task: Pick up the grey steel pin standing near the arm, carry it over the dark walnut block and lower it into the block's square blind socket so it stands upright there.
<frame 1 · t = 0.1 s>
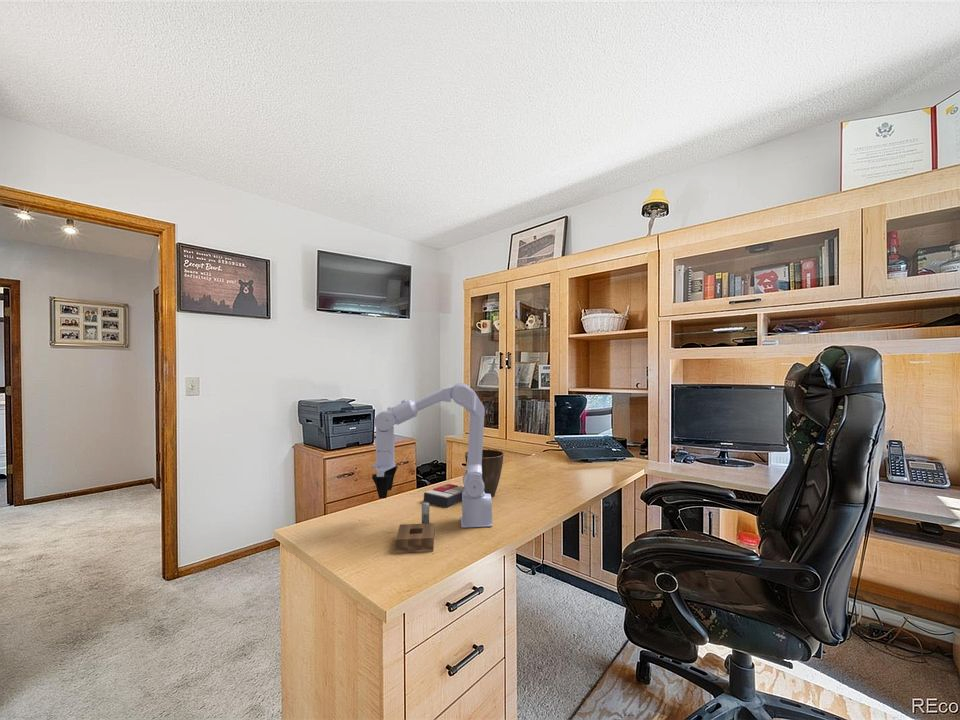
hand: (385, 493, 122), 10 cm above the table, fingers open, 7 cm apart
pin: (425, 525, 122), on the table
bore block: (415, 543, 110), on the table
plant pot: (484, 495, 150), on the table
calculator: (447, 500, 146), on the table
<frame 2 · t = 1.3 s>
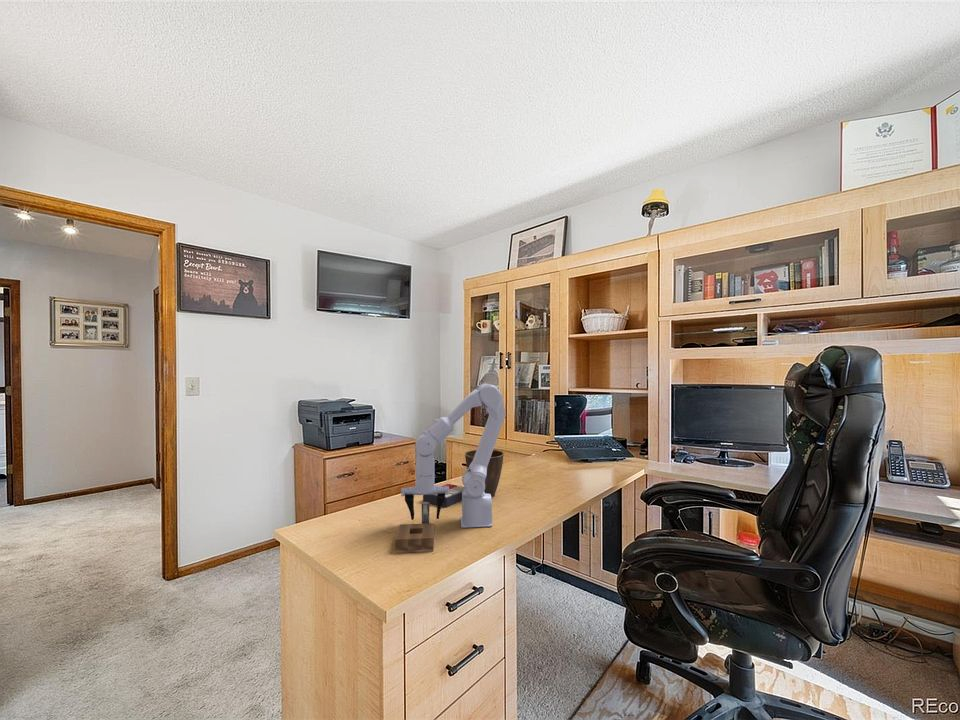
hand: (425, 518, 122), 2 cm above the table, fingers open, 7 cm apart
nothing on the table moved.
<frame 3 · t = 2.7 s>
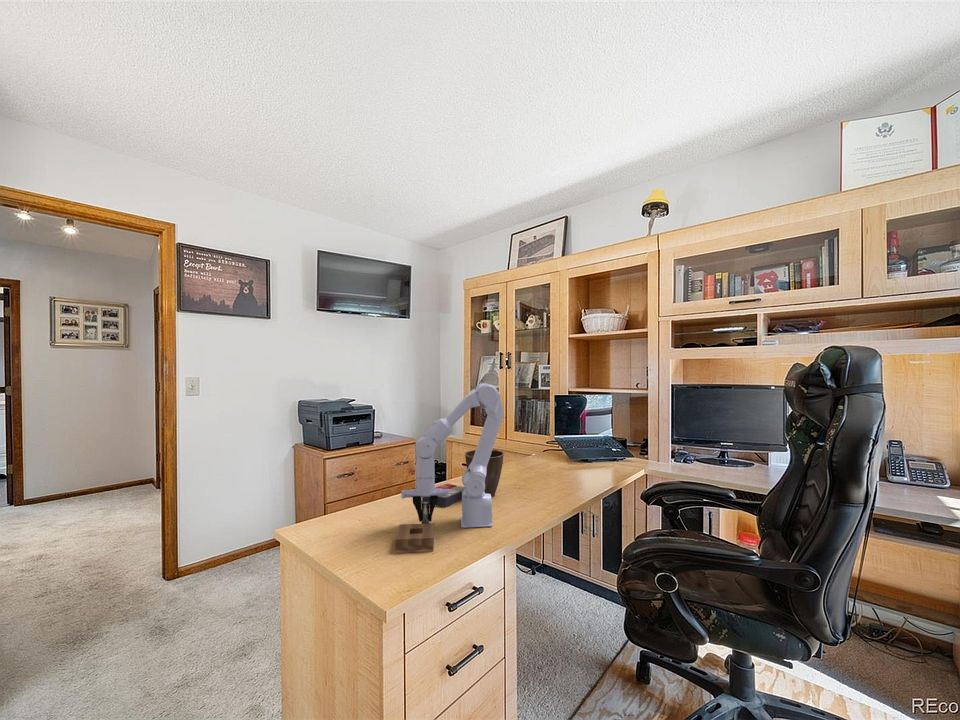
hand: (425, 520, 122), 2 cm above the table, fingers closed on pin, 2 cm apart
pin: (425, 525, 122), on the table, touching gripper
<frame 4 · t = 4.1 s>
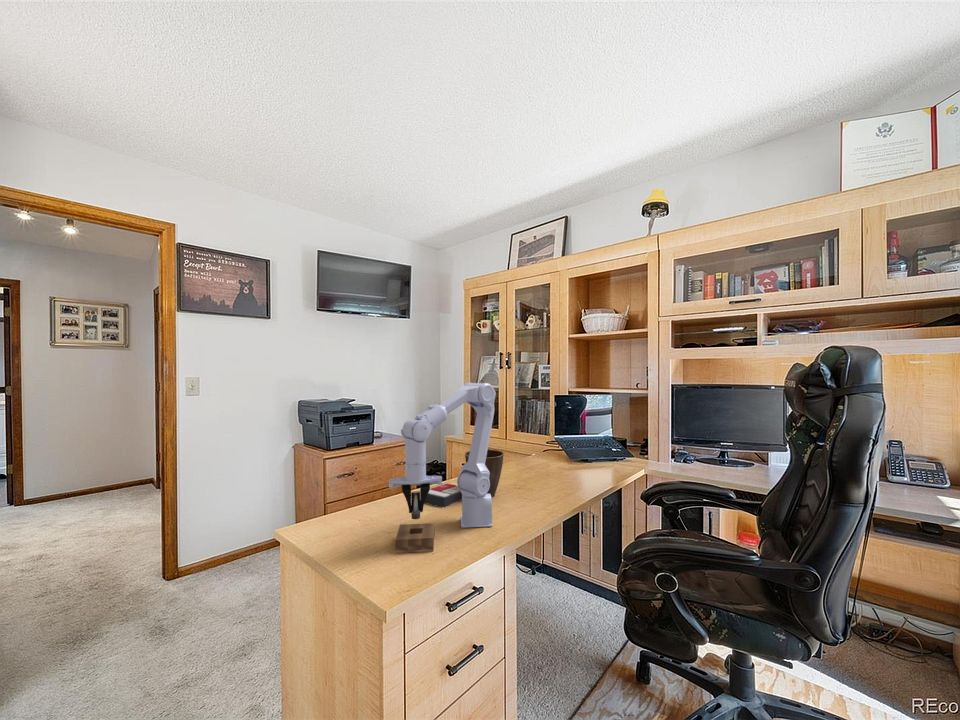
hand: (415, 511, 110), 9 cm above the table, fingers closed on pin, 2 cm apart
pin: (415, 517, 110), point 7 cm above the table, touching gripper
when the fingers open (4 cm above the table, at t = 5.9 s): pin drops 2 cm, resting on bore block.
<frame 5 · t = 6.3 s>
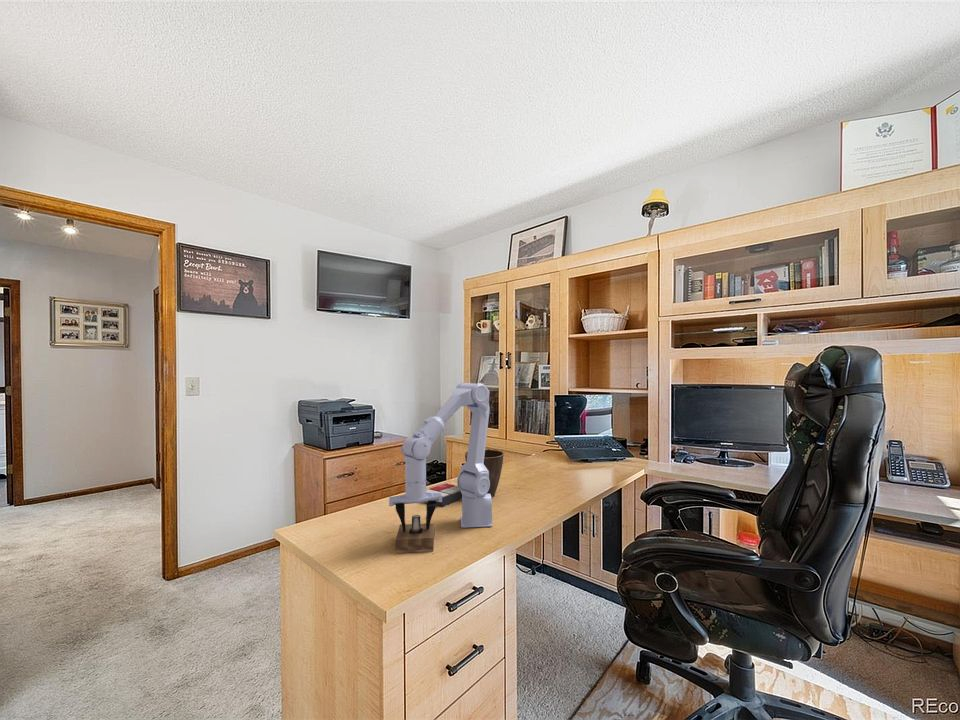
hand: (415, 529, 110), 4 cm above the table, fingers open, 6 cm apart
pin: (416, 541, 110), point 1 cm above the table, touching bore block
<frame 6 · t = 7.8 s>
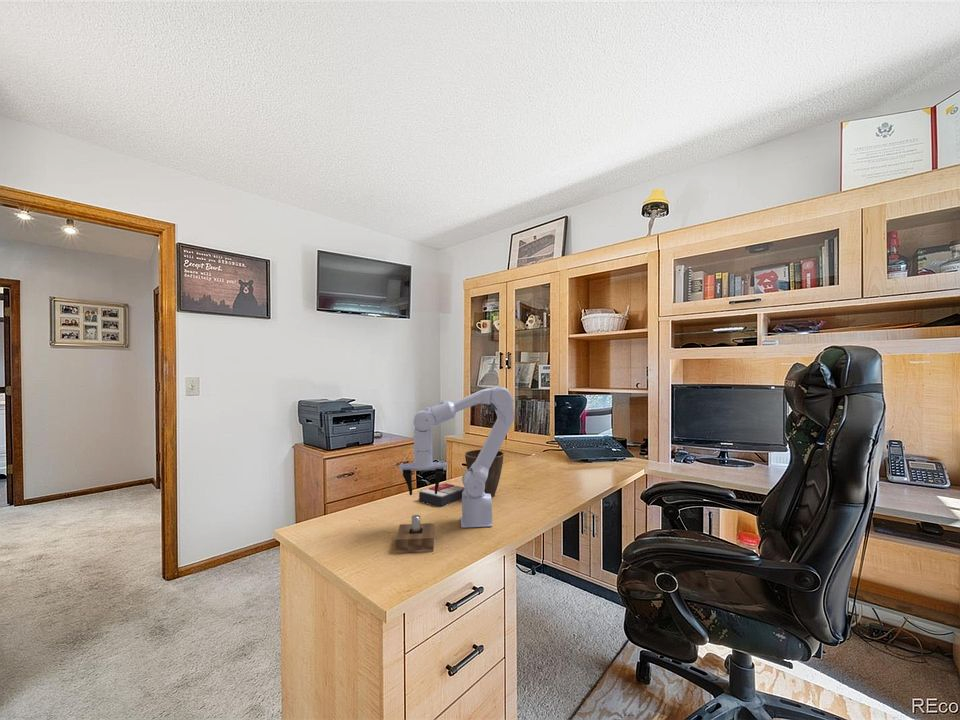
hand: (423, 493, 122), 10 cm above the table, fingers open, 7 cm apart
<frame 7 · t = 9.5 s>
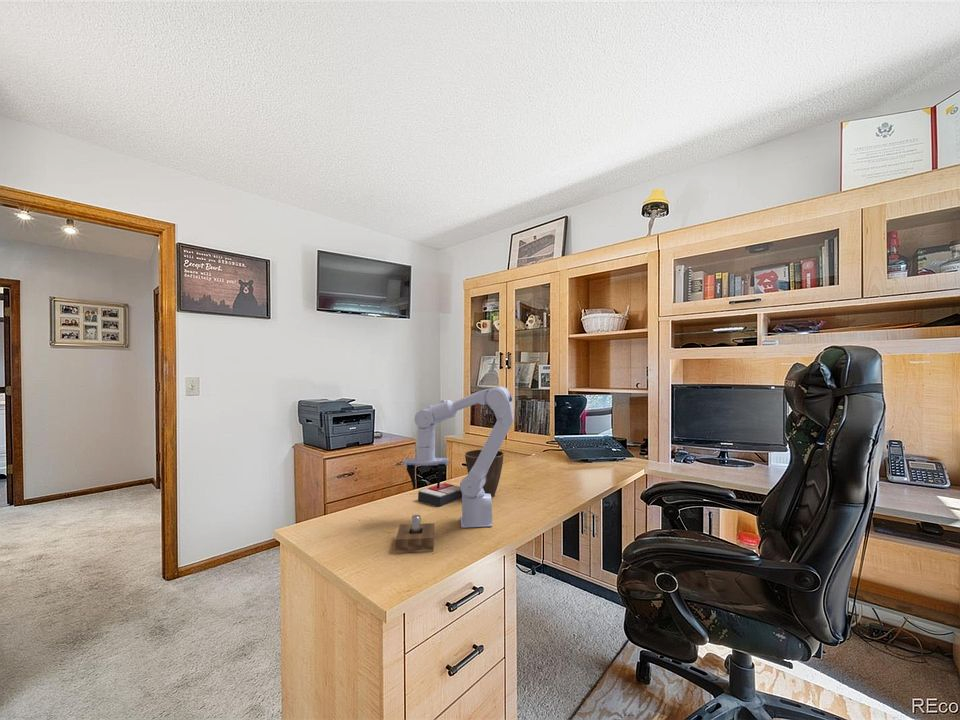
hand: (426, 487, 128), 10 cm above the table, fingers open, 7 cm apart
at the end: pin 0.1 cm off-centre on the bore block, point 0.5 cm above the bore block's base; pin tilted 0°; the gripper is holding nothing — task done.
